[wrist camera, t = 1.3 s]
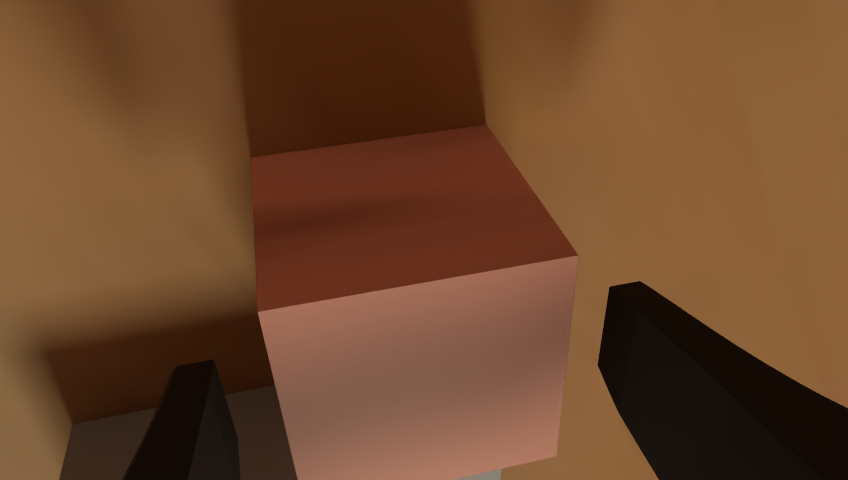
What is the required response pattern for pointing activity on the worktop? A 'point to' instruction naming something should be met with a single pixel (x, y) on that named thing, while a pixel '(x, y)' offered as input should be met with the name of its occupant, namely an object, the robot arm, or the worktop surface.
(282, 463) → the grey block
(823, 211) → the worktop surface
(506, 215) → the red cube
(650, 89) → the worktop surface
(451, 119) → the worktop surface
